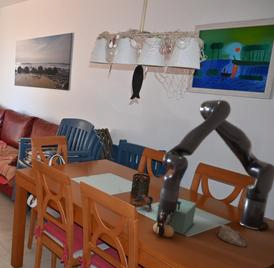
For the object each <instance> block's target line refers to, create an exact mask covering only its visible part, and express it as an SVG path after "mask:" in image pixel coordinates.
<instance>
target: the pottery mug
mask: <svg viewBox="0 0 274 268" xmlns="http://www.w3.org/2000/svg"><path fill="white" fill-rule="evenodd" d="M144 202H145V204H146V206H147V207H146V211H147V212H150V211H152V204H153V202H154V199H153V197H152V196H151V195H149V196H148V195H147V196H146V195H145V194H141V195H138V196H135V197H134V198H132V205H135V206H138V204H141V205H143V204H144Z"/></svg>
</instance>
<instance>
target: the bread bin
mask: <svg viewBox="0 0 274 268" xmlns="http://www.w3.org/2000/svg"><path fill="white" fill-rule="evenodd" d="M196 209H197V204H196V205H195V206H194V207H193V208H192V209H191V210H190V211H189V212H188V213H187V214H186V215H184V214H181V213H178V212H175V211H174V212H173V216H172V221H171V222H170V225H169V226H171V227H172V228H173V230H174V233H178V234H181V235H184V234H185V233H186V231H187V230H188V229H190V228H191V226H192V225H193V224H194V219H195V214H196ZM161 212H162V209H161V208H160V207H158V206H157V213H156V219H155V223H157V222H158V216H159V215H160V213H161Z"/></svg>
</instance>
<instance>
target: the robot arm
mask: <svg viewBox="0 0 274 268" xmlns="http://www.w3.org/2000/svg"><path fill="white" fill-rule="evenodd" d="M231 110H232V109H231V105H230V103H229V101H227V100H224V99H212V100H210V99H209V100H206V101H203V102H202V103H201V104H200V106H199V114H200V116H201V117H202V118H203V120H204V121H202V122H201V123H200V124H198V125H197V126H196V127H194V128H192V129H191V130H189V131H188V132H187V133H186V134H185V135H184V137H182V139H181V140H180V141H179V143H178V144H177V145H175V146H173V148H171V149H170V150H168V151H167V152H166V153H165V154H164V155H163V158H162V165H163V167H164V168H166V169H169V170H171V171H173V172H172V173H167V174H165V175H164V176H163V180H162V185H161V190H160V192H159V200H158V204H159V207H160V208H161V209H162V212H161V213H160V215H159V216H158V224H157V227H159V231H158V234H157V236H160V237H164V236H163V235H164V229H165V226H166V225H170V222H171V221H172V216H173V212H174V211H175V210H176V209H177V203H178V198H179V197H180V187H181V183H182V180H183V178H184V176H185V174H186V172H187V170H188V167H189V161H188V158H187V157H190V156H192V155H193V154H194V153H195V151H197V149H198V148H199V147H200V146H201V144H202V143H203V141H204V140H205V139H206V138H207V137H208V136H209V135H210V134H212V133H213V131H215V132H216V134H217V135H218V136H219V137H220V139H222V141H223V142H224V144H225V145H226V147H228V148H229V150H230V151H231V152H232V154H233V155H234V156H235V157H236V159H237V160H238V161H239V162H240V164H241V166H242V167H243V170H244V171H245V172H246V174H247V175H248V176H249V177H251V178H252V179H255V180H256V182H255V184H249V185H247V186H246V190H245V194H244V200H243V204H242V209H241V215H240V220H239V224H240V225H241V226H243V227H245V228H246V229H249V230H254V231H255V230H256V231H262V228H263V227H264V229H266V230H267V229H268V228H269V224H268V219H266V218H265V216H266V208H267V205H268V199H269V195H270V192H271V191H272V189H273V185H274V164H272V163H269V162H266V161H263V160H260V159H259V158H257V156H256V155H255V154H254V153H253V151H252V149H253V144H252V140H251V139H250V138H249V137H248V135H247V134H246V132H244V130H242V129H241V128H240V127H238V126H237V125H235V124H233V123H232V122H230V121H228V120H227V119H228V117H230V114H231ZM179 199H180V198H179ZM161 224H162V225H161Z"/></svg>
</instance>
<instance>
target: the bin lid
mask: <svg viewBox="0 0 274 268" xmlns="http://www.w3.org/2000/svg"><path fill="white" fill-rule="evenodd" d="M195 205H196V206H197V202H193V201H190V200H186V199H182V198H178V203H177V209H176V210H175V212H178V213H181V214H184V215H186V214H187V213H188V212H189V211H190V210H191V209H192V208H193V207H194V206H195ZM158 207H159V203H158V204H157V208H158Z"/></svg>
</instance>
